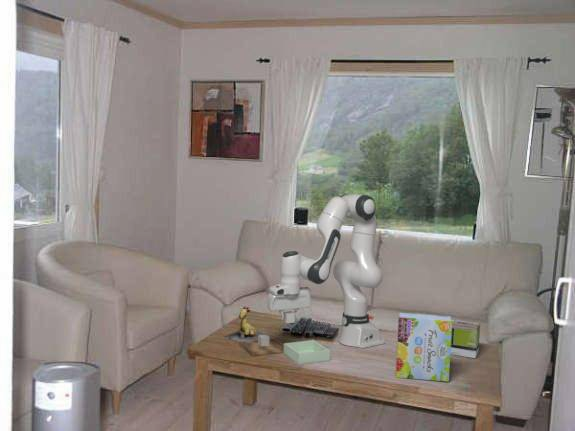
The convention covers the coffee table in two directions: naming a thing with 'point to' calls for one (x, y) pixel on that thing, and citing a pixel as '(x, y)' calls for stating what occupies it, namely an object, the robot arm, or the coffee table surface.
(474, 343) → the tea box
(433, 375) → the snack box
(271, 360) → the coffee table surface
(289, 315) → the stone cube
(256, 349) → the walnut tray
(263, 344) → the stone cube
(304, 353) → the green bin
